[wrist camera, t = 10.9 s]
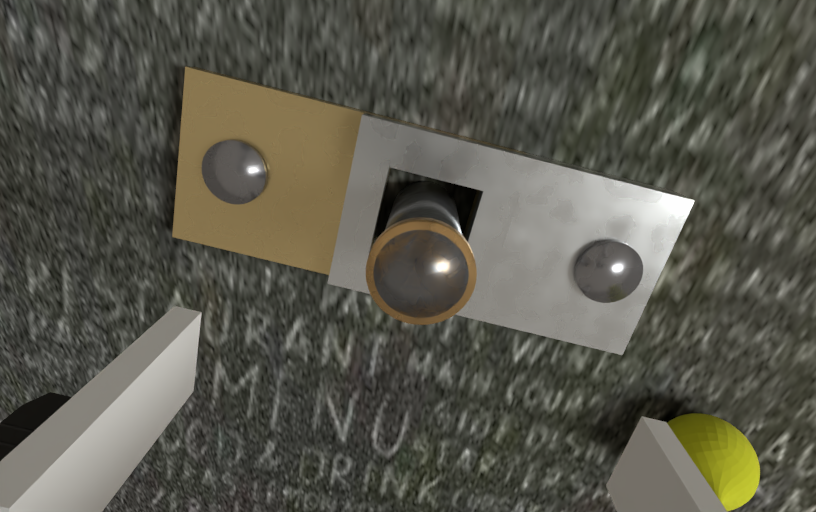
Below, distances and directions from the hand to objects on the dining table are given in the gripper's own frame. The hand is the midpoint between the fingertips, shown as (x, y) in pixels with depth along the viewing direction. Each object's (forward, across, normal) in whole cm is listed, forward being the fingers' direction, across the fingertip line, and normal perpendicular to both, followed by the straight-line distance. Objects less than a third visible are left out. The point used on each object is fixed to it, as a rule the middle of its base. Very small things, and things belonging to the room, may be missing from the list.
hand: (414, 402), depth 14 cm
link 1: (+23, -6, 0) cm, 23 cm away
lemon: (+23, +26, -13) cm, 37 cm away
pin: (+23, 0, 0) cm, 23 cm away
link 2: (+23, +6, 0) cm, 23 cm away
